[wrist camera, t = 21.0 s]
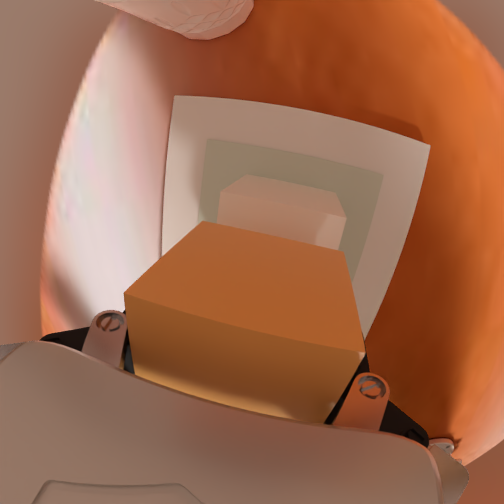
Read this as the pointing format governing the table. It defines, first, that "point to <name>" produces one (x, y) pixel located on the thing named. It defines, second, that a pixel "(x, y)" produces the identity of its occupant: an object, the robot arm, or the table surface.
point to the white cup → (189, 15)
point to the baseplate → (298, 176)
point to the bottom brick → (283, 210)
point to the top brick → (248, 322)
